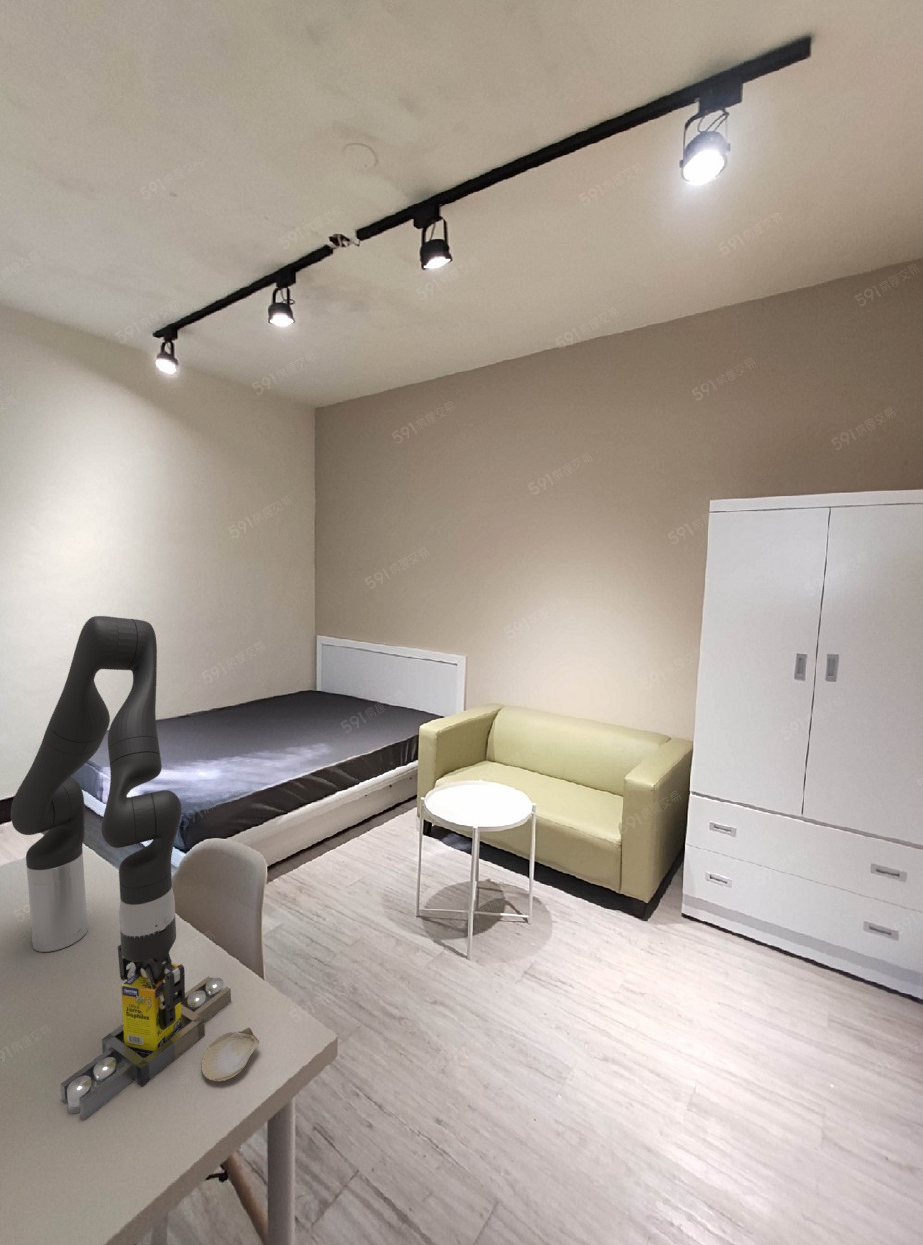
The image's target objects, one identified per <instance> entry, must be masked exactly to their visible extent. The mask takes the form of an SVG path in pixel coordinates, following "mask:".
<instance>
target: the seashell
mask: <svg viewBox="0 0 923 1245" xmlns="http://www.w3.org/2000/svg"><path fill="white" fill-rule="evenodd" d="M259 1044H260V1041H259V1039H258V1038H257V1036H255V1035H254V1033H253V1030H252V1028H251V1027H247V1028H245V1029H242V1031H233V1032H227V1033H225V1034H222V1035H219V1036H218V1037H217V1038H215V1040H214V1041H212V1043H210V1045H209V1046H208V1047H207V1049H206V1051H205V1052H204V1054H203V1056H202V1060H201V1061H200V1062H201V1063H200V1066H201V1067H200V1069H201V1073H202V1075H203V1077H204V1078H205V1079H206V1080H208V1081H210V1082H213V1083H217V1082H218V1083H221V1082H222V1081H223V1082H226V1081H227V1080H231V1079H232V1078H233V1077H236V1076H237V1075H238V1074H239V1073H241V1071H242V1070H244V1068H245V1066H246V1065H247V1064H248V1062H249V1059H250V1057H251V1056H252V1055H253V1053H254V1052H255V1050H256V1049H257V1047H258V1046H259Z"/></svg>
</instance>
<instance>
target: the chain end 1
mask: <svg viewBox="0 0 923 1245" xmlns="http://www.w3.org/2000/svg"><path fill="white" fill-rule="evenodd" d="M101 1045H102V1046H101V1048H102V1053H101V1054H99V1055H98V1056H97V1057H96V1058H94V1059H93V1060H92V1061H90V1062H89V1063H87V1064H86V1065H85V1066H83V1067H82V1068H81V1069H79V1070H77V1072H75V1073H73V1074H72V1075H70V1076H69V1077H68V1078H67V1079H65V1080H63V1082H61V1083H60V1094H61V1101H62V1102H64V1103H65V1104H66V1103H67V1106H68V1107H67V1108H68V1112H69V1113H70V1114H79V1115H80V1116H79V1117H80V1118H81V1119H82V1120H83V1121H86V1119H88V1118H89V1117H90V1116H91V1115H92V1114H94V1113H95V1112H97V1110H99V1109H100V1108H101V1107H103V1106H104V1105H105V1104H106V1103H108V1102H109V1101H110V1100H111V1099H112V1098H114V1097H115V1096H116V1095H117V1094H119V1093H120V1092H121V1091H122V1090H123V1089H125V1088H126V1087H127V1086H128V1085H130V1084H131V1083H132V1082H135V1084H137V1085H138V1086H140V1087H141V1088H143V1087H144V1086H146V1085H147V1084H148V1083H149V1082H151V1081H152V1080H153V1079H154V1078H155V1077H157V1075H159V1074H160V1073H162V1072H163V1070H165V1069H166V1068H167V1067H169V1066H170V1065H171V1064H172V1063H174V1061H176V1060H175V1047H174V1042H173V1041H172V1040H170V1039H169V1040H168V1041H167V1042H165V1043H164V1044H163V1045H161V1046H160V1047H159V1048H158V1049H156V1050H155V1051H154V1052H152V1053H151V1054H148V1056H146V1057H145V1058H144V1057H142V1056H141V1055H140V1054H138V1052H135V1051H133V1050H131V1049H130V1048H129V1047H127V1046H126V1045H125V1044H124V1028H123V1023H122V1024H121V1025H120V1026H118V1027H117V1028H116V1029H114V1030H113V1031H111V1032H109V1033H108V1034H107V1035H106V1036H104V1037H103V1038H101ZM92 1083H94V1085H93V1086H94V1089H92Z"/></svg>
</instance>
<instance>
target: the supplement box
mask: <svg viewBox="0 0 923 1245" xmlns="http://www.w3.org/2000/svg"><path fill="white" fill-rule="evenodd" d="M172 965H173V966H175V967H177V966H179V965H180V964H176V963H172ZM164 979H165V977H164V978H163V979H162V980H160V981H159V982H157V983H155V985H156V987H160V986H162V985H163V984H164V982H163V980H164ZM120 988H121V1003H122V1006H121V1008H122V1022H123V1023H122V1024H123V1028H124V1044H125V1045H126V1046H127V1047H129V1048H130V1049H131V1050H133V1051H134V1052H136V1053H142V1054H147V1055H150V1054H151V1053H152V1052H154V1051H155V1050H156V1049H158V1048H159V1047H160V1046H161V1045H163V1044H164V1043H165V1042H167V1041H168V1040H169V1039H170V1038H172V1037H173V1036H174V1035H175V1034H177V1033H178V1031H179V1030H180V1027H181V1026H182V1020H181V1002H180V1003H179V1004H177V1005H176V1006H175V1015H176V1019H175V1021H174V1023H173V1024H171V1025H170V1026H169V1027H167V1028H166V1029H165V1030H162V1029H161V1028H160V1027H159V1005H158V996H157V995H155V992H156V991H157V989H158V988H156V989H154V990H153V989H151V988H150V987H148V985H147V983H146V980H145V979H143V978H142V977H140V976H139V975H136V976H134V977H130V978H129V979H128V980H126V981H125V982H124V983H122V985H121V987H120ZM162 995H163V997H164V998H165V989H164V990H163V991H162Z"/></svg>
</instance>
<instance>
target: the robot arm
mask: <svg viewBox="0 0 923 1245" xmlns="http://www.w3.org/2000/svg"><path fill="white" fill-rule="evenodd" d="M155 631H156V630H155V629H154V627H153V625H152V624H151V623H150V622H149V621H145V620H142V619H135V618H123V617H116V616H107V615H95V616H91V617H90V618H89V619H87V621H85V623H84V624H83V626H82V628H81V631H80V633H79V637H78V638H77V639H78V640H77V643H76V646H75V649H74V653H73V655H72V659H71V664H70V667H69V671H68V674H67V677H66V681H65V684H64V686H63V689H62V690H61V693H60V697H59V699H58V701H57V703H56V706H55V708H54V710H53V713H52V715H51V716H50V719H49V721H48V724H47V726H46V729H45V732H44V735H43V738H42V741H41V744H40V746H39V748H38V751H37V753H36V756H35V757H34V760H33V762H32V764H31V766H30V768H29V770H28V772H27V773H26V776H25V777H24V778H23V780H22V782H21V783H20V786H19V787H18V789H17V790H16V792H15V794H14V797H13V799H12V802H11V808H10V820H11V824H12V827H13V828H14V830H15V831H16V832H18V833H19V834H22V835H24V836H33V835H38V834H41V833H44V832H46V831H47V832H46V833H45V834H44V835H43V836H42V837H40V838H39V839H38V840H37V841H36V842H35V843H34V844H32V845H31V846H30V847H29V848H28V850H26V855H25V862H26V864H25V865H26V875H27V885H28V886H27V888H28V898H29V911H30V912H29V913H30V925H31V928H30V929H31V940H32V948H33V950H35V951H37V952H40V953H41V952H42V953H45V952H46V953H47V952H48V953H49V952H55V951H58V950H61V949H64V948H67V947H69V946H71V945H74V944H75V943H77V942H78V941H80V940H81V939H82V938H83V937H84V936H85V935H86V933H87V932H88V929H89V928H88V914H87V913H88V910H87V897H86V896H87V895H86V882H85V881H86V880H85V868H84V867H85V866H84V854H83V853H84V852H83V844H84V841H85V836H86V835H85V797H84V791H83V789H82V787H81V784H80V783H79V782H78V780H76V779H75V778H74V777H72V776H73V775H75V773H76V772H77V771H78V770H80V769H81V768H82V767H83V766H84V765H86V763H88V762H89V760H90V759H91V758H92V757H93V756H94V755H95V754H96V753H97V752H98V750H99V748H100V747H101V745H102V742H103V740H104V738H105V736H106V734H107V732H108V735H107V747H108V748H107V750H108V758H109V759H108V761H109V771H110V772H109V773H110V780H109V781H110V784H109V790H108V796H107V801H106V804H105V809H104V813H103V816H102V821H101V835H102V838H103V839H104V842H105V843H106V844H107V845H108V846H110V847H112V848H114V849H115V848H116V849H119V848H126V847H129V846H134V845H137V844H141V843H145V842H150V841H151V842H150V843H149V844H148V845H147V846H144V847H143V848H141V849H139V850H137V851H135V852H133V853H131V854H130V855H128V856H126V857H125V858H124V859H123V860H122V861H121V863H120V865H119V869H118V880H119V897H120V899H119V912H118V913H119V916H118V917H119V930H120V935H119V936H120V944H119V945H118V946H117V954H118V967H119V969H118V970H119V977H120V980H121V981H123V982H124V981H125V980H126V981H127V980H128V979H129V978H130V977H134V976H136V975H139V976H140V977H142V978H143V979H145V980H146V983H147V985H148V987H150V988H151V989H153V990H154V989H156V988H158V989H157V991H156V992H155V995H157V996H158V1005H159V1027H160V1028H161V1029H162V1030H165V1029H166V1028H167V1027H169V1026H170V1025H171V1024H173V1023H174V1021H175V1019H176V1015H175V1006H176V1005H177V1004H179V1003H180V1002H182V1001H183V1000H184V999H185V993H186V983H185V982H186V981H185V977H186V974H185V967H184V965H183V964H182V963H181V964H178V965H179V966H177V967H175V966H173V965H172V964H173V963H172V959H171V955H170V954H171V953H170V951H171V949H172V947H173V945H174V944H175V942H176V939H177V922H176V905H175V904H176V903H175V895H174V894H175V893H174V891H173V881H172V880H173V879H172V876H173V875H172V856H173V850H174V844H175V840H176V837H177V835H178V834H177V833H178V830H179V827H180V823H181V817H182V804H181V802H182V801H181V800H180V798H179V796H178V795H177V794H176V793H175V792H173V791H171V790H169V789H162V790H158V791H154V792H153V791H152V792H149V793H144V794H138V795H133V796H128V794H129V793H130V791H132V790H133V789H134V788H136V787H138V786H141V785H143V784H146V783H148V782H150V781H153V780H154V779H156V778H158V776H160V774H161V772H162V767H163V766H162V758H161V752H160V744H159V737H158V731H157V719H156V718H157V716H156V713H157V712H156V704H157V703H156V702H157V677H158V676H157V670H158V669H157V668H158V663H157V662H158V660H157V659H158V654H157V653H158V646H157V645H158V644H157V636H156V632H155ZM101 670H108V671H109V670H111V671H113V670H115V671H116V670H117V671H131V672H132V686H131V689H130V691H129V693H128V694H127V697H126V699H125V701H124V702H123V704H122V705H121V707H119V708H120V709H119V710H118V711H117V713H116V714H115V716H114V718H113V720H112V722H110V721H111V716H110V712H109V709H108V707H107V705H106V703H105V702H106V701H105V700H103V697H102V696H101V694H100V693H99V690H98V688H97V685H96V682H95V678H96V675H97V673H98V672H99V671H101ZM110 723H111V724H110ZM108 729H109V730H108ZM129 964H130V965H129ZM128 965H129V967H128V968H127V966H128ZM164 977H165V979H164V980H163V982H164V984H163V985H162V986H160V987H156V985H155V983H157V982H159V981H160V980H162V979H163V978H164ZM164 989H165V998H164V997H163V995H162V991H163V990H164Z"/></svg>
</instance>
